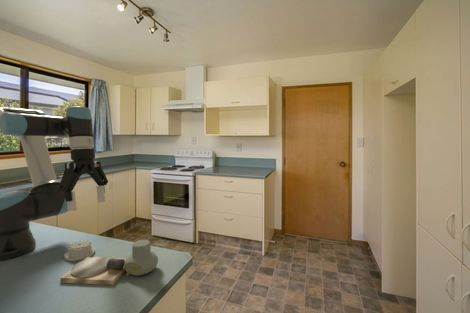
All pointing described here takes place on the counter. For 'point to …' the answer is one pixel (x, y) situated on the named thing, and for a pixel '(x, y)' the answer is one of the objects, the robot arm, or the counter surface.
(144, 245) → the grey rounded piece
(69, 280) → the flange board
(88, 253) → the mechanical component
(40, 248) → the counter surface
